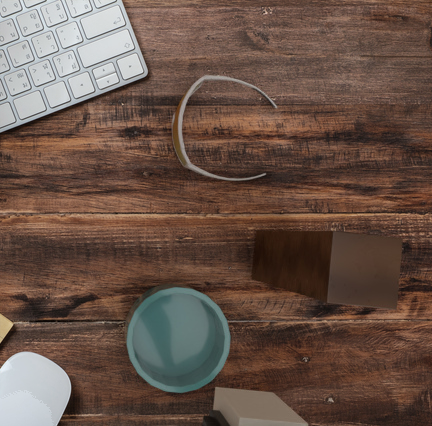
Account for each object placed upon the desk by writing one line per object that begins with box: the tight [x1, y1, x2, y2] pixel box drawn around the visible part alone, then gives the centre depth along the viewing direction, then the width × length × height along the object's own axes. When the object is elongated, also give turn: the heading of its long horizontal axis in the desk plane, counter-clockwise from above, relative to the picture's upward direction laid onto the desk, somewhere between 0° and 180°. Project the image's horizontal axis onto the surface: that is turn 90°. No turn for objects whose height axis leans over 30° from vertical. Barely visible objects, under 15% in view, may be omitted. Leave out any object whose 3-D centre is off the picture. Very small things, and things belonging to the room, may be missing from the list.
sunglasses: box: [171, 74, 278, 182], centre depth 67 cm, size 14×15×5 cm
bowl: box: [123, 282, 232, 394], centre depth 65 cm, size 14×14×5 cm
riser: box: [251, 229, 404, 311], centre depth 58 cm, size 7×7×22 cm
